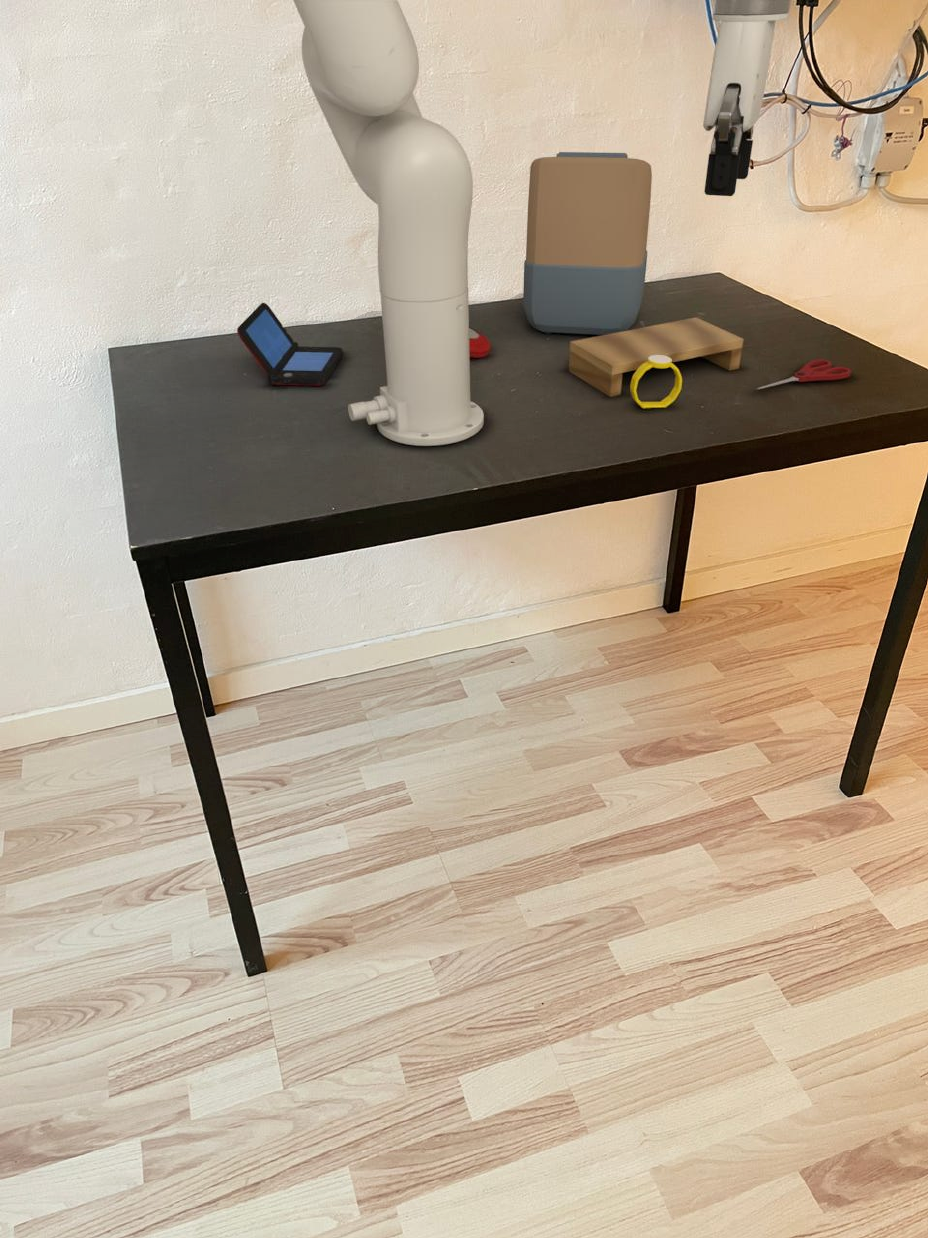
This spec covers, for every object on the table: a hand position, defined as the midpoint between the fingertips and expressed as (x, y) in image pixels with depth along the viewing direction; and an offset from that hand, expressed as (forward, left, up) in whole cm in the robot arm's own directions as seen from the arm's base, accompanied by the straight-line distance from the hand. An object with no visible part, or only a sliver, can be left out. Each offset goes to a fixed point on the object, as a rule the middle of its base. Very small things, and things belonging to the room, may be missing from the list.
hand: (726, 186), depth 101 cm
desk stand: (-3, +6, -23) cm, 24 cm away
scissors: (+10, -6, -23) cm, 26 cm away
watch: (-10, -4, -23) cm, 25 cm away
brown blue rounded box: (-1, +27, -23) cm, 35 cm away
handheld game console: (-45, +29, -23) cm, 58 cm away
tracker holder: (-22, +26, -23) cm, 41 cm away
